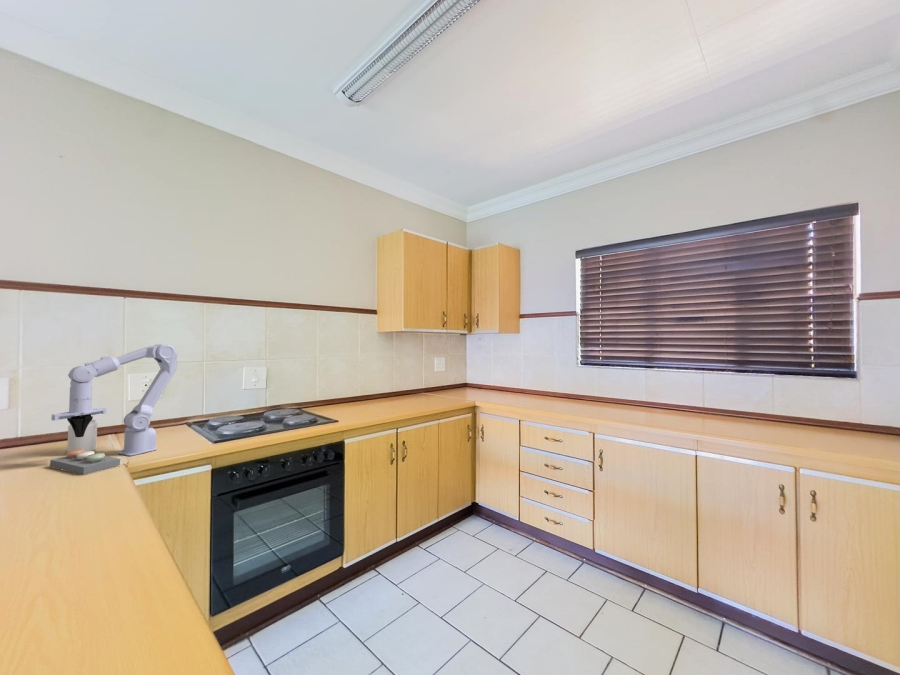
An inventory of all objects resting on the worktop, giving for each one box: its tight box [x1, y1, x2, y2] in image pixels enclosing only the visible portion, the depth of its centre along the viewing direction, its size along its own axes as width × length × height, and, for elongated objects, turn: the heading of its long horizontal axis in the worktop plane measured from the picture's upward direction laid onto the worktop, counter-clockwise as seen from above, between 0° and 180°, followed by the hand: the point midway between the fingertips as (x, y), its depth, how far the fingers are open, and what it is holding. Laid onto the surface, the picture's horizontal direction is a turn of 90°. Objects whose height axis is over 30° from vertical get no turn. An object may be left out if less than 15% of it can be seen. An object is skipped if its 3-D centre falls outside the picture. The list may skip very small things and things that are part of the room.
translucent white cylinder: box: [66, 419, 98, 453], centre depth 144 cm, size 8×8×12 cm
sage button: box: [87, 452, 106, 464], centre depth 126 cm, size 4×4×4 cm
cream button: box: [77, 450, 96, 461], centre depth 128 cm, size 4×4×4 cm
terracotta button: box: [66, 449, 85, 459], centre depth 130 cm, size 4×4×4 cm
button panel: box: [49, 455, 121, 476], centre depth 128 cm, size 20×10×2 cm, turn 69°
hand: (79, 436), depth 132 cm, fingers closed
